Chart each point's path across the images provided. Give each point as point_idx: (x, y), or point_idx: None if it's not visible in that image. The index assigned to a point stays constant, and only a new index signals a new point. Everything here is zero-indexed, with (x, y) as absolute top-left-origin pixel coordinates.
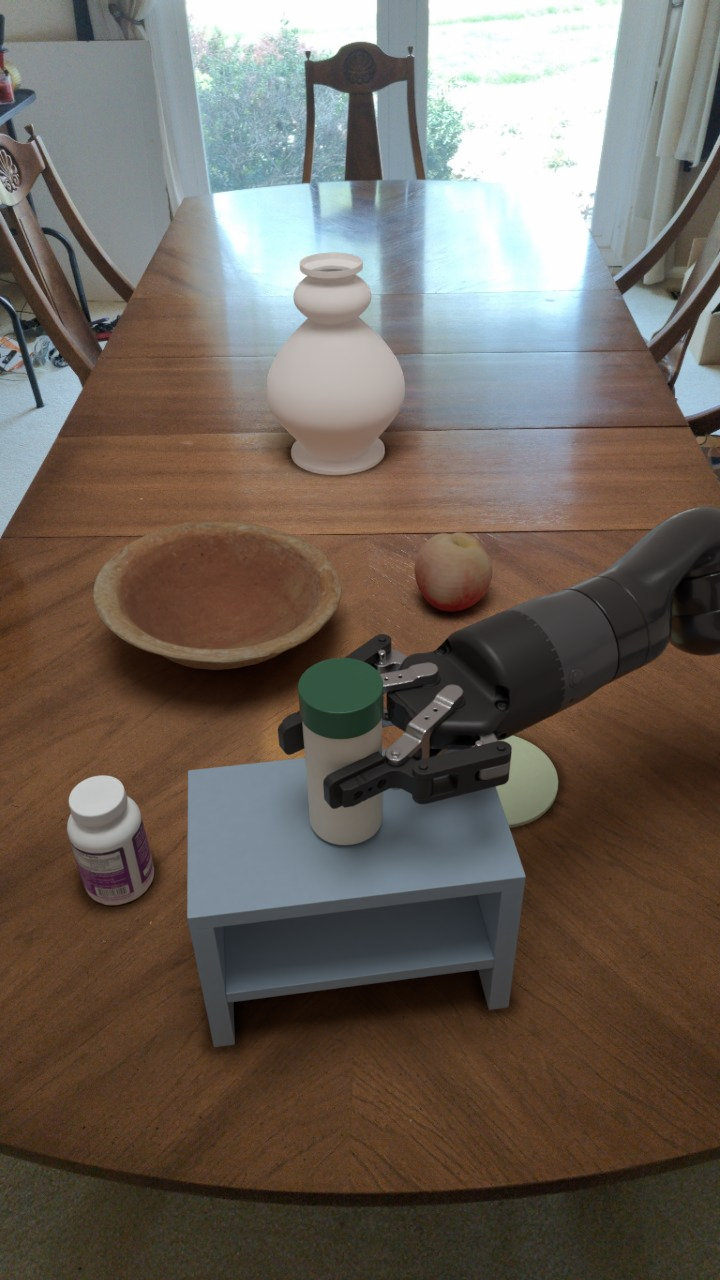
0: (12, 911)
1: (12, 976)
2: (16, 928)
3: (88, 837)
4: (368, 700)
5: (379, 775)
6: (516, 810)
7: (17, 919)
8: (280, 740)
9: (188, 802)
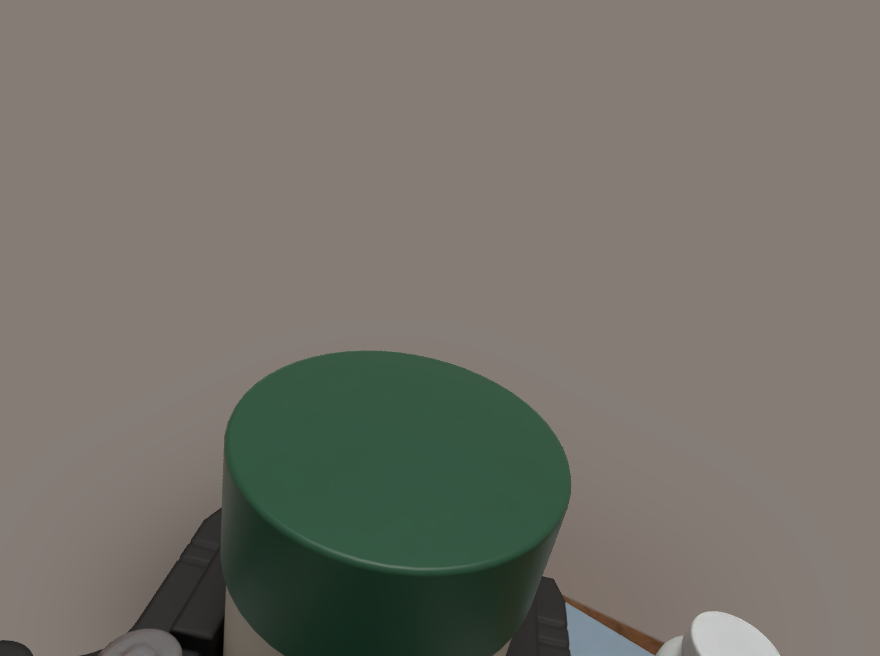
0: (659, 642)
1: (570, 600)
2: (632, 633)
3: (677, 642)
4: (250, 423)
5: (156, 595)
6: None
7: (645, 640)
8: None
9: (589, 617)
